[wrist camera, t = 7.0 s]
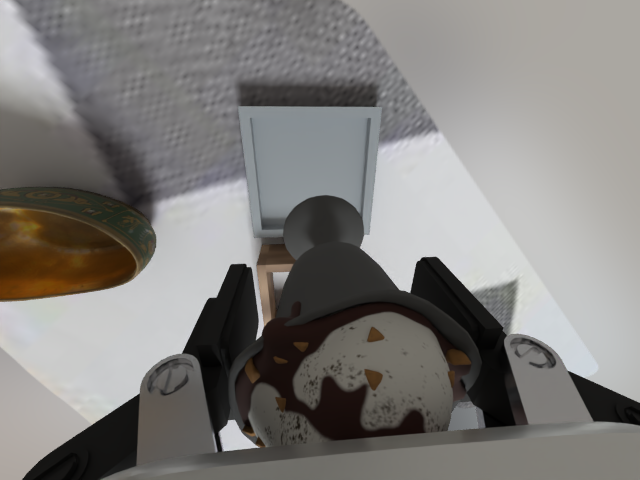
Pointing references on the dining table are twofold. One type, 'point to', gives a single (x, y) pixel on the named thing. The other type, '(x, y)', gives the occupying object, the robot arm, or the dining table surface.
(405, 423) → the sundae
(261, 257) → the holder
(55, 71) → the dining table surface
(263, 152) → the tray
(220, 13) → the dining table surface
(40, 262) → the green bowl
